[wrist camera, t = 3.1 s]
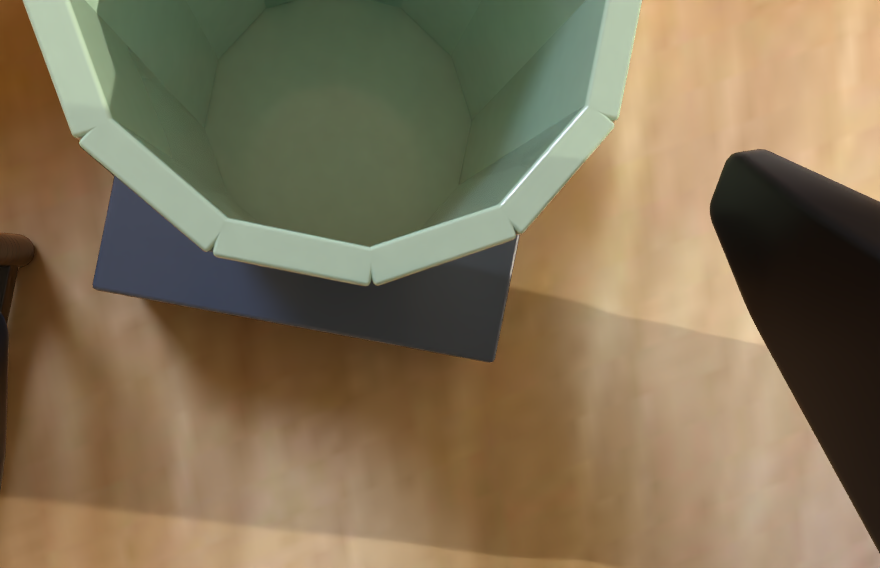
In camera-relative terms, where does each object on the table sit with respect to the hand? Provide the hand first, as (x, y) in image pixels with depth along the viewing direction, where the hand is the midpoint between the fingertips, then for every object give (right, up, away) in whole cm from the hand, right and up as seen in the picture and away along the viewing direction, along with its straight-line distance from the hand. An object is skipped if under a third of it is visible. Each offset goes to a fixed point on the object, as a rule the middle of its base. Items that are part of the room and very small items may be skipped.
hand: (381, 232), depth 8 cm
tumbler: (-1, +3, +6) cm, 7 cm away
